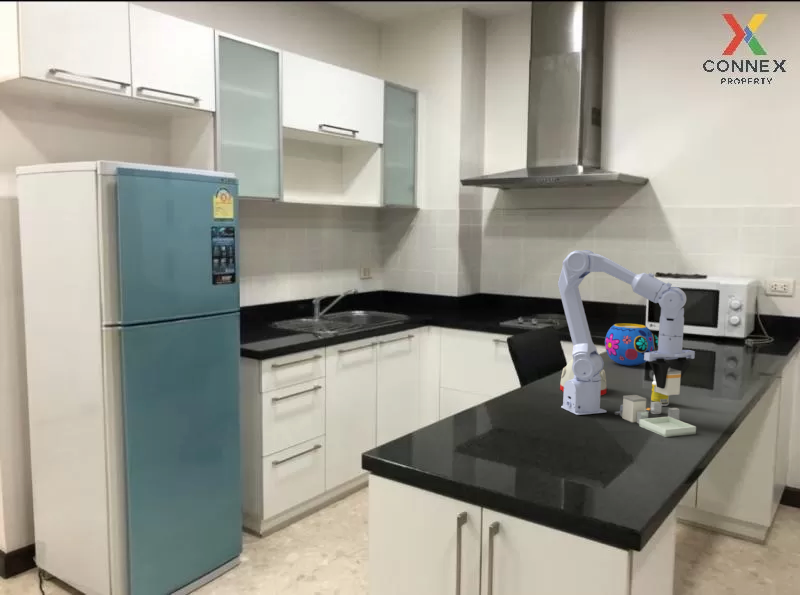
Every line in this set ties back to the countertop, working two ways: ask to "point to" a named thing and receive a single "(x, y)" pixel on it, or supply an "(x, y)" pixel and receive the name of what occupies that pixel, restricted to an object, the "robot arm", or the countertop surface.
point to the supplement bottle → (658, 395)
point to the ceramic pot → (629, 343)
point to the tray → (667, 426)
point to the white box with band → (671, 383)
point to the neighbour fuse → (633, 407)
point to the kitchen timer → (568, 375)
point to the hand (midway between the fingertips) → (667, 387)
